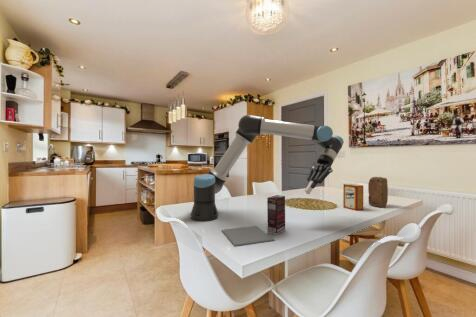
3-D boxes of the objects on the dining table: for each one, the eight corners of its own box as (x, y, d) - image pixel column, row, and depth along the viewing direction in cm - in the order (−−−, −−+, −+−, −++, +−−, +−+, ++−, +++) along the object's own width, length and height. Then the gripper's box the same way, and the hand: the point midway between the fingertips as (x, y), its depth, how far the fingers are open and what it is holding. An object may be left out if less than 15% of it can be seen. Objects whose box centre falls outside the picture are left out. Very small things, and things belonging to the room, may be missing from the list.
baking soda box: (343, 207, 145) (343, 183, 145) (349, 206, 148) (349, 183, 148) (356, 210, 136) (356, 185, 136) (363, 209, 139) (363, 184, 139)
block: (388, 207, 146) (389, 177, 146) (380, 208, 143) (381, 178, 143) (374, 204, 156) (374, 176, 156) (366, 204, 154) (366, 176, 153)
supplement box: (276, 228, 103) (276, 194, 102) (285, 230, 99) (285, 195, 99) (266, 233, 96) (266, 197, 96) (276, 235, 93) (276, 198, 93)
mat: (221, 231, 98) (221, 229, 98) (255, 227, 104) (255, 225, 104) (234, 246, 81) (234, 244, 81) (274, 240, 87) (274, 239, 87)
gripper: (340, 163, 113) (321, 199, 104) (319, 163, 124) (299, 195, 115) (335, 153, 110) (315, 189, 101) (313, 154, 121) (293, 186, 112)
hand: (307, 192), depth 108 cm, fingers closed
